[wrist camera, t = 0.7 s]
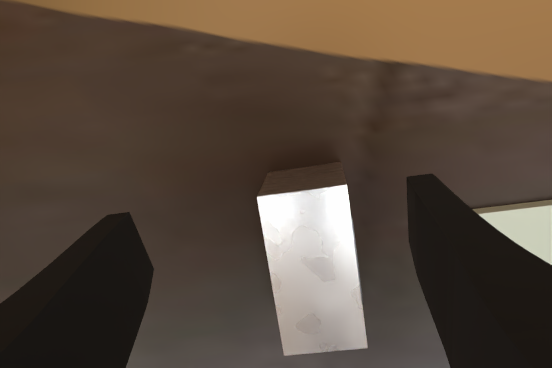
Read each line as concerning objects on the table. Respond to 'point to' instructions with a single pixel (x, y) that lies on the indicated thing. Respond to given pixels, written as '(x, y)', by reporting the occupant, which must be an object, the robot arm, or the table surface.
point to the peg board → (524, 225)
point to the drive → (312, 259)
